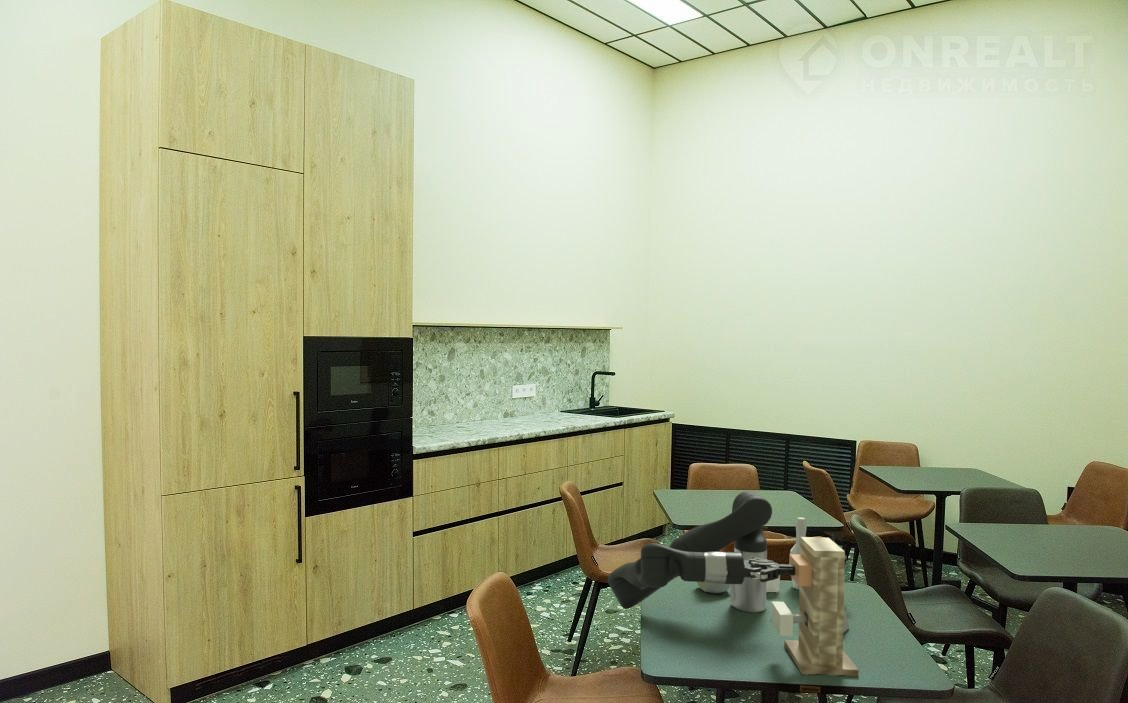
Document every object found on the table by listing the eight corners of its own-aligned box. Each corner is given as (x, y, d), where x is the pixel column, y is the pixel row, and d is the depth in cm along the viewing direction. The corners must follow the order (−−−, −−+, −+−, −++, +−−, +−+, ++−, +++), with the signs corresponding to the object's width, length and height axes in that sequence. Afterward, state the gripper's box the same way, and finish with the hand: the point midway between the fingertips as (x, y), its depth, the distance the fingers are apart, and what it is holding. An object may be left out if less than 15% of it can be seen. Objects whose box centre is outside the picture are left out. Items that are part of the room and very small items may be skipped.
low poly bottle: (786, 584, 234) (787, 515, 234) (805, 583, 235) (806, 515, 235) (794, 591, 228) (795, 520, 228) (813, 590, 229) (815, 520, 228)
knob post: (836, 647, 186) (838, 535, 186) (858, 676, 170) (860, 554, 170) (784, 645, 187) (786, 534, 186) (801, 674, 171) (804, 552, 170)
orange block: (821, 575, 182) (822, 555, 182) (833, 587, 173) (834, 566, 173) (789, 574, 183) (789, 554, 183) (798, 586, 174) (799, 565, 174)
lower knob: (803, 622, 183) (804, 602, 183) (814, 636, 174) (814, 615, 174) (771, 621, 183) (771, 601, 183) (779, 635, 174) (780, 614, 174)
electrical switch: (838, 639, 191) (835, 603, 192) (818, 635, 195) (816, 600, 195) (850, 628, 199) (847, 594, 199) (830, 625, 202) (828, 591, 202)
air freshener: (693, 586, 231) (693, 554, 231) (716, 583, 234) (717, 552, 234) (710, 597, 221) (711, 565, 221) (734, 595, 224) (735, 562, 223)
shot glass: (768, 594, 224) (768, 572, 224) (753, 588, 230) (753, 565, 230) (785, 591, 227) (785, 569, 227) (769, 584, 234) (769, 563, 233)
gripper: (718, 574, 186) (787, 576, 185) (726, 592, 173) (801, 595, 172) (718, 544, 186) (788, 547, 185) (727, 560, 172) (802, 563, 171)
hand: (794, 570), depth 178 cm, fingers closed
